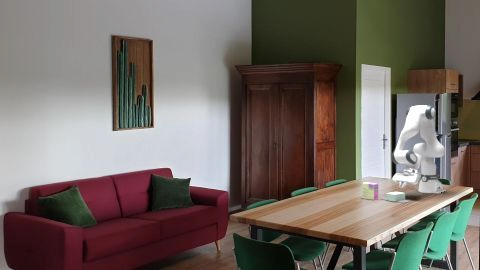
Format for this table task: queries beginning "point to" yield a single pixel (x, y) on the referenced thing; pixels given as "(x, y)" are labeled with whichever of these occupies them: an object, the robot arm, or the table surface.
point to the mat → (398, 201)
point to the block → (395, 196)
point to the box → (370, 191)
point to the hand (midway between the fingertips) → (401, 187)
